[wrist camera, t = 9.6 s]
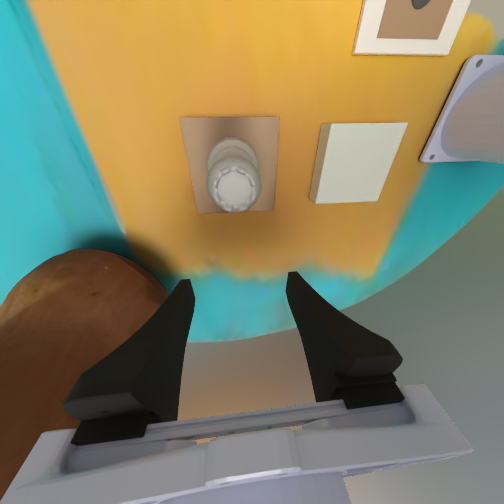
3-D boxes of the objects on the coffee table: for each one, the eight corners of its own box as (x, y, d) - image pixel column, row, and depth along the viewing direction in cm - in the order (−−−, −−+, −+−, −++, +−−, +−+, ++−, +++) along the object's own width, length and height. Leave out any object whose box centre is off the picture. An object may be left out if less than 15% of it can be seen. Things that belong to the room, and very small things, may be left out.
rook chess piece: (200, 143, 15) (177, 155, 9) (252, 130, 15) (269, 133, 8) (216, 194, 18) (208, 234, 11) (261, 184, 18) (279, 219, 11)
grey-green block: (391, 122, 17) (408, 122, 16) (366, 195, 21) (377, 200, 20) (321, 123, 17) (331, 123, 15) (308, 197, 21) (315, 203, 19)
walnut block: (274, 117, 16) (279, 116, 15) (270, 203, 21) (273, 210, 19) (184, 118, 16) (178, 117, 14) (200, 206, 20) (197, 213, 19)
